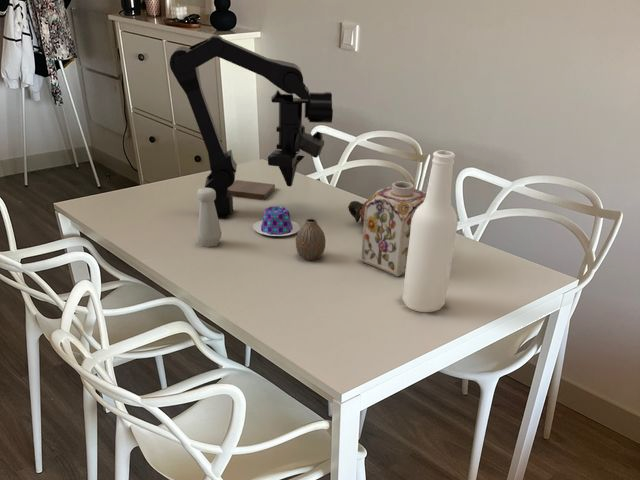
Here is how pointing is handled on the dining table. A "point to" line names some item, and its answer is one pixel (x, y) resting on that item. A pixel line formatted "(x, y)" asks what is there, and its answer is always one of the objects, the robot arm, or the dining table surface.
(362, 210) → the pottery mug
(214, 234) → the salt shaker
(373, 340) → the dining table surface
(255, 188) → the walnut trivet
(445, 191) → the alcohol
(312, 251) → the vase
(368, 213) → the decorative jar
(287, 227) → the pudding
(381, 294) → the dining table surface
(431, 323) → the dining table surface
